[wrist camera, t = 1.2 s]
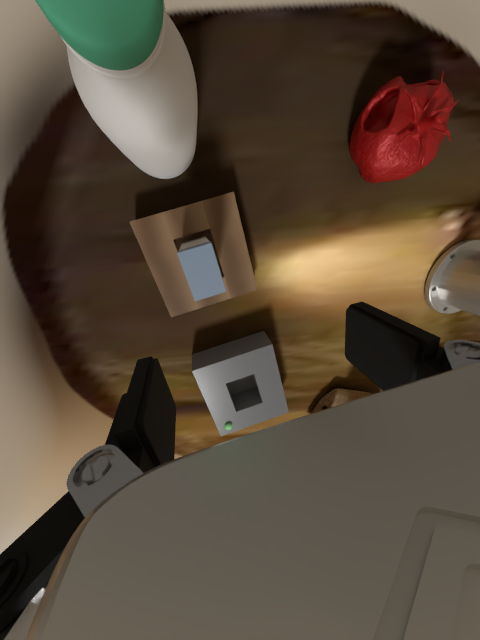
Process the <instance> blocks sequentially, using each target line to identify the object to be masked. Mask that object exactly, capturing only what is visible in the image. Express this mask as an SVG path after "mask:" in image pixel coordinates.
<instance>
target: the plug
mask: <svg viewBox="0 0 480 640" xmlns="http://www.w3.org/2000/svg"><path fill="white" fill-rule="evenodd" d="M177 255H178V258H179V260H180V263H181V266H182V268H183V271H184V274H185V276H186V279H187V282H188V284H189V287H190V290H191V292H192V295H193V298H194V300H195V301H198V300H202V299H205V298H208V297H211V296H214V295H217V294H220V293H224V292H226V289H225V286H224V282H223V279H222V276H221V273H220V269H219V266H218V263H217V259H216V256H215V253H214V250H213V246H212V243H211V242H210V241H209V240H208V239H207V238H206V236H202V237H199V238H196V239H192V240H189V241H186V242H182V244H181V247H180V249H179V250H178V252H177Z"/></svg>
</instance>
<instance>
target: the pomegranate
mask: <svg viewBox="0 0 480 640" xmlns="http://www.w3.org/2000/svg"><path fill="white" fill-rule="evenodd" d="M443 73H444V71H443ZM443 73H442V76H441V81H440V82H439V81H437V80H429V81H427V82H424V83H416V84H412V85H411V84H410V85H407V84H406V83H405V82H404V81H403V79H402V78H401V76H397V77H395V78H393V79H392V80H390V81H389V82H387V83H386V84H385V85H383V86H382V87H381V88H380V89H379V90H378V91H377V92H376V93H375V94H374V95H373V96H372V98H371V99H370V101H369V102H368V103H367V105H366V106H365V107H364V109H363V110H362V111H361V113H360V115H359V117H358V119H357V121H356V123H355V125H354V128H353V131H352V134H351V139H350V145H349V149H350V154H351V158H352V159H353V160H354V161H355V163H356V164H357V166H358V168H359V172H360V176H361V177H362V178H364V179H365V180H366V181H367V182H370V183H378V182H386V181H393V180H399V179H404V178H406V177H409V176H411V175H413V174H414V173H416V172H418V171H419V170H421V169H423V168H424V167H426V166H427V165H428V164H429V163H430V162H431V161H432V160H433V159H434V158H435V156H436V155H437V151H438V149H439V145H440V143H441V142H442V140H443V137H444V134H445V135H446V136H447V137H448V138H449V140H450V141H451V139H450V136H451V134H450V131H449V130H447V126H448V119H449V115H450V112H451V109H452V108H453V107H454V106H455V105H456V103H457V101H458V100H459V99H458V100H457V101H456V102H455V103H453V95H452V93H451V92H450V90H449V89H448V87H447V85H446V84H445V83H444V82H443ZM451 142H452V141H451Z"/></svg>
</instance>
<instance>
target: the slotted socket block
mask: <svg viewBox="0 0 480 640" xmlns="http://www.w3.org/2000/svg"><path fill="white" fill-rule="evenodd" d="M130 224H131V226H132V229H133V231H134V233H135V236H136V238H137V240H138V242H139V245H140V247H141V249H142V252H143V254H144V256H145V258H146V261H147V263H148V265H149V268H150V270H151V272H152V274H153V277H154V279H155V281H156V284H157V286H158V288H159V290H160V293H161V295H162V297H163V300H164V302H165V304H166V306H167V309H168V311H169V313H170V316H171V317H174V316H177V315H180V314H183V313H186V312H190V311H193V310H196V309H199V308H202V307H205V306H208V305H212V304H215V303H218V302H221V301H224V300H227V299H230V298H233V297H237V296H240V295H243V294H246V293H249V292H252V291H255V290H257V286H256V282H255V278H254V274H253V270H252V265H251V261H250V257H249V253H248V249H247V245H246V241H245V237H244V232H243V228H242V224H241V220H240V216H239V212H238V208H237V203H236V199H235V195H234V192H231V193H227V194H224V195H220V196H217V197H213V198H210V199H207V200H203V201H200V202H196V203H193V204H189V205H186V206H182V207H179V208H175V209H172V210H169V211H165V212H162V213H158V214H155V215H151V216H148V217H144V218H141V219H138V220H134V221H131V222H130ZM202 236H206V238H207V239H208V240H209V241H210V242H211V243H212V246H213V250H214V253H215V256H216V259H217V263H218V266H219V269H220V273H221V276H222V279H223V282H224V286H225V289H226V292H224V293H220V294H217V295H214V296H211V297H208V298H205V299H202V300H198V301H195V300H194V298H193V295H192V292H191V290H190V287H189V284H188V282H187V279H186V276H185V274H184V271H183V268H182V266H181V263H180V260H179V258H178V255H177V252H178V250H179V249H180V247H181V244H182V242H186V241H189V240H192V239H196V238H199V237H202Z"/></svg>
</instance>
